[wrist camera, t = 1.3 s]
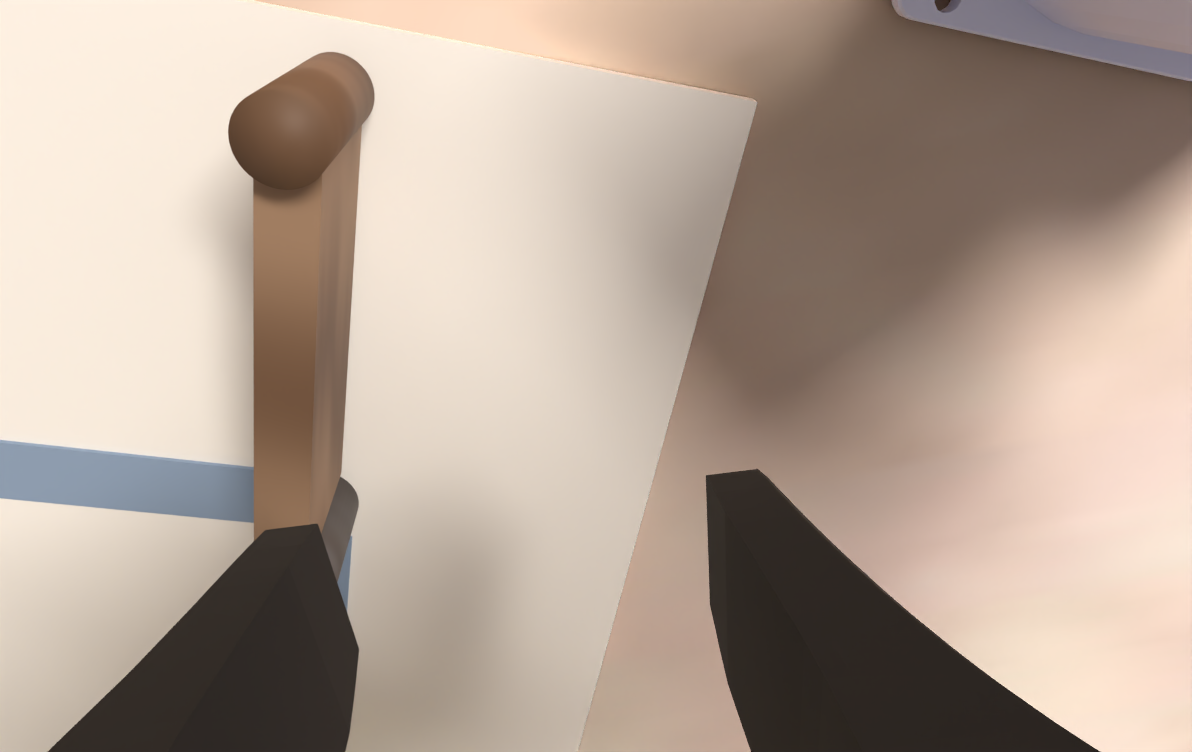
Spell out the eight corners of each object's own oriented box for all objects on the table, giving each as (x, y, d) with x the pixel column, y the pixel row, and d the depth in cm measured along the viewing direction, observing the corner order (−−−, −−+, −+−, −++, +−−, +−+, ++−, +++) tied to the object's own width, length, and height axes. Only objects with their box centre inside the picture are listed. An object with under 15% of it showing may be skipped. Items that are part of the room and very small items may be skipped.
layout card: (752, 98, 16) (759, 103, 16) (563, 787, 27) (564, 802, 26) (-409, -130, 13) (-441, -132, 13) (-122, 753, 23) (-135, 769, 23)
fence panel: (350, 473, 19) (311, 595, 16) (288, 467, 19) (235, 588, 15) (376, 59, 15) (333, 100, 11) (297, 45, 15) (227, 81, 11)
